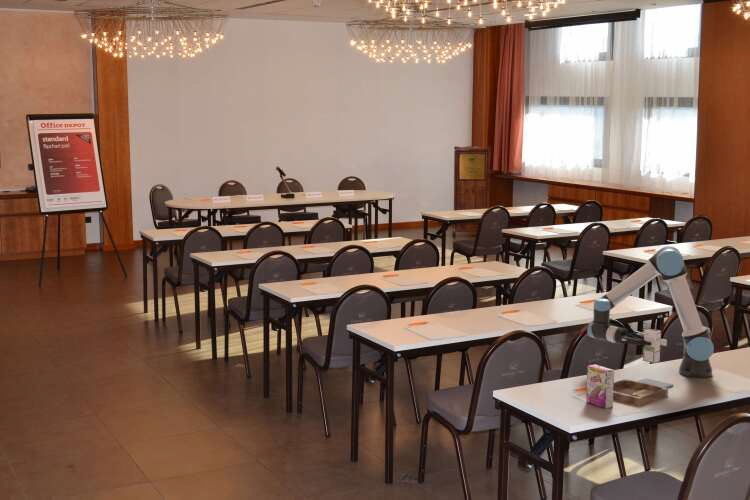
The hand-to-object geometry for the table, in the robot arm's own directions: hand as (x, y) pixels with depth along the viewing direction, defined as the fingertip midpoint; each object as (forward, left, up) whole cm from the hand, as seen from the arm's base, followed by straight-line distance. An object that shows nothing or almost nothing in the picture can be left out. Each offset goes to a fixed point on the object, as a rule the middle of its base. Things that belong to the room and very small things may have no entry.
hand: (662, 344), depth 412 cm
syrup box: (+4, -3, -9) cm, 11 cm away
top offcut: (+11, +19, -19) cm, 29 cm away
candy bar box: (+30, +31, -21) cm, 48 cm away
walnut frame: (+15, +15, -21) cm, 29 cm away
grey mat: (+4, -3, -21) cm, 21 cm away
